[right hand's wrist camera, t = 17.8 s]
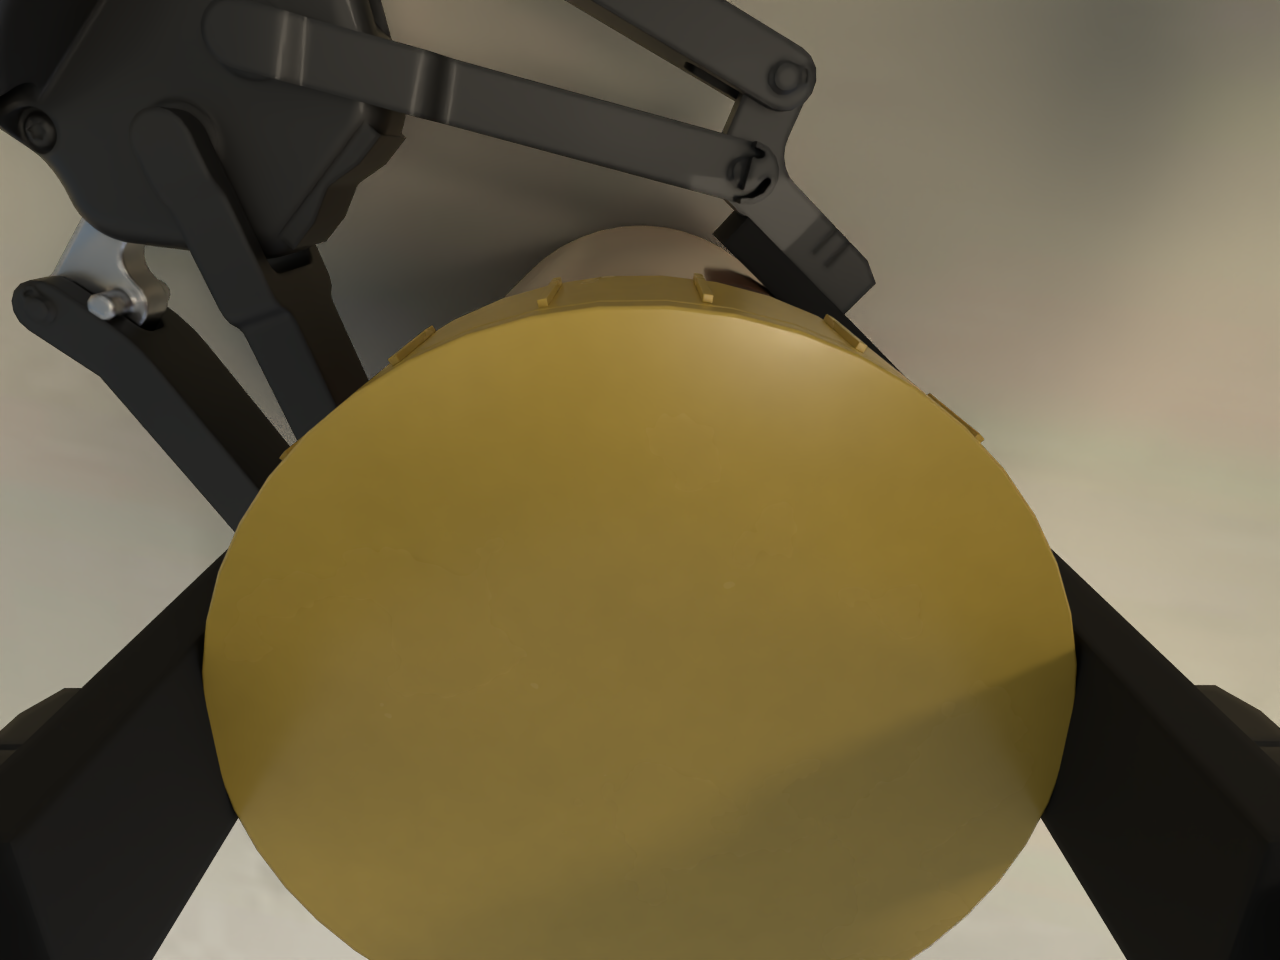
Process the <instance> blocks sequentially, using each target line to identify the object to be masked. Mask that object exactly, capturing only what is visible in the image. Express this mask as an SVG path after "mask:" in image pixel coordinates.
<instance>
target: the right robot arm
mask: <svg viewBox="0 0 1280 960" xmlns="http://www.w3.org/2000/svg"><path fill="white" fill-rule="evenodd" d="M227 550H228V549H227ZM227 550H226V551H225V552H224V553H223V554H222V555H221V556H220V557H219V558H218V559H217V560H216V561H215V562H214V563H213V564H211V565H210V566H209V567H208V568H207V569H206V570H205V571H204V572H203V573H202V574H201V575H200V576H199V577H198V578H197V579H196V580H195V581H194V582H193V583H192V584H190V585H189V586H188V587H187V588H186V589H185V590H184V591H183V592H182V593H181V594H180V595H179V596H178V597H177V598H176V599H175V600H174V601H173V602H172V603H170V604H169V605H168V606H167V607H166V608H165V609H164V610H163V611H162V612H161V613H160V614H159V615H158V616H157V617H156V618H155V619H154V620H153V621H152V622H151V623H149V624H148V625H147V626H146V627H145V628H144V629H143V630H142V631H141V632H140V633H139V634H138V635H137V636H136V637H135V638H134V639H133V640H132V641H131V642H129V643H128V644H127V645H126V646H125V647H124V648H123V649H122V650H121V651H120V652H119V653H118V654H117V655H116V656H115V657H114V658H113V659H112V660H111V661H110V662H108V663H107V664H106V665H105V666H104V667H103V668H102V669H101V670H100V671H99V672H98V673H97V674H96V675H95V676H94V677H93V678H92V679H91V680H90V681H88V682H87V683H86V684H85V685H84V686H83V687H82V688H64V689H62V690H61V691H59V692H57V693H55V694H53V695H52V696H50V697H48V698H46V699H45V700H43V701H41V702H39V703H38V704H36V705H34V706H32V707H31V708H29V709H27V710H25V711H24V712H22V713H20V714H19V715H17V716H16V717H15V718H14V719H13V720H12V721H11V722H10V723H9V724H7V725H6V726H5V727H4V728H3V729H2V730H1V731H0V960H152V959H153V958H154V956H155V954H156V953H157V951H158V949H159V948H160V946H161V944H162V943H163V941H164V939H165V938H166V936H167V934H168V933H169V931H170V929H171V928H172V926H173V925H174V923H175V921H176V920H177V918H178V916H179V915H180V913H181V911H182V910H183V908H184V906H185V905H186V903H187V901H188V900H189V898H190V897H191V895H192V893H193V892H194V890H195V888H196V887H197V885H198V883H199V882H200V880H201V878H202V877H203V875H204V873H205V872H206V870H207V869H208V867H209V865H210V864H211V862H212V860H213V859H214V857H215V855H216V854H217V852H218V850H219V849H220V847H221V845H222V844H223V842H224V841H225V839H226V837H227V836H228V834H229V832H230V831H231V829H232V827H233V826H234V824H235V822H236V821H237V819H238V816H237V814H236V812H235V811H234V809H233V806H232V804H231V801H230V799H229V796H228V794H227V791H226V789H225V786H224V782H223V778H222V774H221V770H220V765H219V761H218V756H217V752H216V747H215V743H214V738H213V734H212V729H211V725H210V720H209V715H208V711H207V706H206V701H205V695H204V690H203V679H202V665H203V653H204V641H205V629H206V620H207V616H208V612H209V607H210V603H211V599H212V595H213V591H214V587H215V583H216V579H217V575H218V571H219V569H220V567H221V564H222V562H223V560H224V557H225V555H226V553H227ZM1051 551H1052V553H1053V555H1054V557H1055V559H1056V561H1057V564H1058V567H1059V571H1060V575H1061V578H1062V582H1063V585H1064V589H1065V593H1066V596H1067V600H1068V603H1069V607H1070V610H1071V616H1072V625H1073V634H1074V643H1075V652H1076V661H1077V670H1076V690H1075V698H1074V704H1073V710H1072V714H1071V719H1070V723H1069V728H1068V732H1067V737H1066V741H1065V746H1064V750H1063V755H1062V760H1061V764H1060V769H1059V772H1058V776H1057V780H1056V784H1055V787H1054V789H1053V792H1052V795H1051V797H1050V800H1049V803H1048V805H1047V807H1046V809H1045V810H1044V812H1043V814H1042V816H1041V819H1042V821H1043V822H1044V824H1045V825H1046V827H1047V829H1048V830H1049V832H1050V834H1051V835H1052V837H1053V839H1054V840H1055V842H1056V844H1057V845H1058V847H1059V849H1060V850H1061V852H1062V853H1063V855H1064V857H1065V858H1066V860H1067V862H1068V863H1069V865H1070V867H1071V868H1072V870H1073V872H1074V873H1075V875H1076V877H1077V878H1078V880H1079V881H1080V883H1081V885H1082V886H1083V888H1084V890H1085V891H1086V893H1087V895H1088V896H1089V898H1090V900H1091V901H1092V903H1093V905H1094V906H1095V908H1096V910H1097V911H1098V913H1099V914H1100V916H1101V918H1102V919H1103V921H1104V923H1105V924H1106V926H1107V928H1108V929H1109V931H1110V933H1111V934H1112V936H1113V938H1114V939H1115V941H1116V942H1117V944H1118V946H1119V947H1120V949H1121V951H1122V952H1123V954H1124V956H1125V957H1126V959H1127V960H1280V728H1279V727H1278V726H1277V725H1276V724H1275V723H1274V722H1273V721H1271V720H1270V719H1269V718H1268V717H1267V716H1266V715H1265V714H1264V713H1262V712H1261V711H1260V710H1258V709H1256V708H1255V707H1253V706H1251V705H1249V704H1248V703H1246V702H1244V701H1242V700H1240V699H1239V698H1237V697H1235V696H1233V695H1232V694H1230V693H1228V692H1226V691H1225V690H1223V689H1221V688H1219V687H1217V686H1216V685H1194V684H1193V683H1192V682H1191V681H1189V680H1188V679H1187V678H1186V677H1185V676H1184V675H1183V674H1182V673H1181V672H1180V671H1179V670H1178V669H1177V668H1176V667H1175V666H1174V665H1173V664H1172V663H1171V662H1170V661H1168V660H1167V659H1166V658H1165V657H1164V656H1163V655H1162V654H1161V653H1160V652H1159V651H1158V650H1157V649H1156V648H1155V647H1154V646H1153V645H1152V644H1151V643H1150V642H1149V641H1147V640H1146V639H1145V638H1144V637H1143V636H1142V635H1141V634H1140V633H1139V632H1138V631H1137V630H1136V629H1135V628H1134V627H1133V626H1132V625H1131V624H1130V623H1129V622H1128V621H1126V620H1125V619H1124V618H1123V617H1122V616H1121V615H1120V614H1119V613H1118V612H1117V611H1116V610H1115V609H1114V608H1113V607H1112V606H1111V605H1110V604H1109V603H1108V602H1106V601H1105V600H1104V599H1103V598H1102V597H1101V596H1100V595H1099V594H1098V593H1097V592H1096V591H1095V590H1094V589H1093V588H1092V587H1091V586H1090V585H1089V584H1088V583H1087V582H1085V581H1084V580H1083V579H1082V578H1081V577H1080V576H1079V575H1078V574H1077V573H1076V572H1075V571H1074V570H1073V569H1072V568H1071V567H1070V566H1069V565H1068V564H1067V563H1066V562H1064V561H1063V560H1062V559H1061V558H1060V557H1059V556H1058V555H1057V554H1056V553H1055V552H1054V551H1053V550H1052V549H1051Z"/></svg>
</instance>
